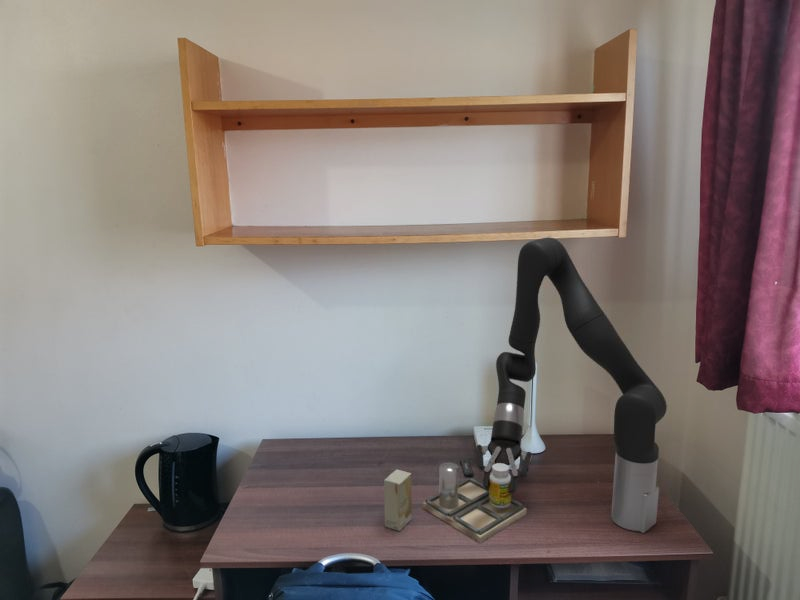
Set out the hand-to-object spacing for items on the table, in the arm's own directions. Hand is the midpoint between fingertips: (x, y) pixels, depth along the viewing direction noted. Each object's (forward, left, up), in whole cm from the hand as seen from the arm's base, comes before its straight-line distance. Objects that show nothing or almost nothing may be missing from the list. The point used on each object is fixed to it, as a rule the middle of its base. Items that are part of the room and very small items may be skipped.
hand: (499, 490), depth 142 cm
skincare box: (+15, +20, -7) cm, 26 cm away
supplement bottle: (+1, -2, -4) cm, 5 cm away
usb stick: (+21, -12, -8) cm, 25 cm away
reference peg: (+10, +7, -5) cm, 14 cm away
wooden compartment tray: (+6, +3, -7) cm, 9 cm away
